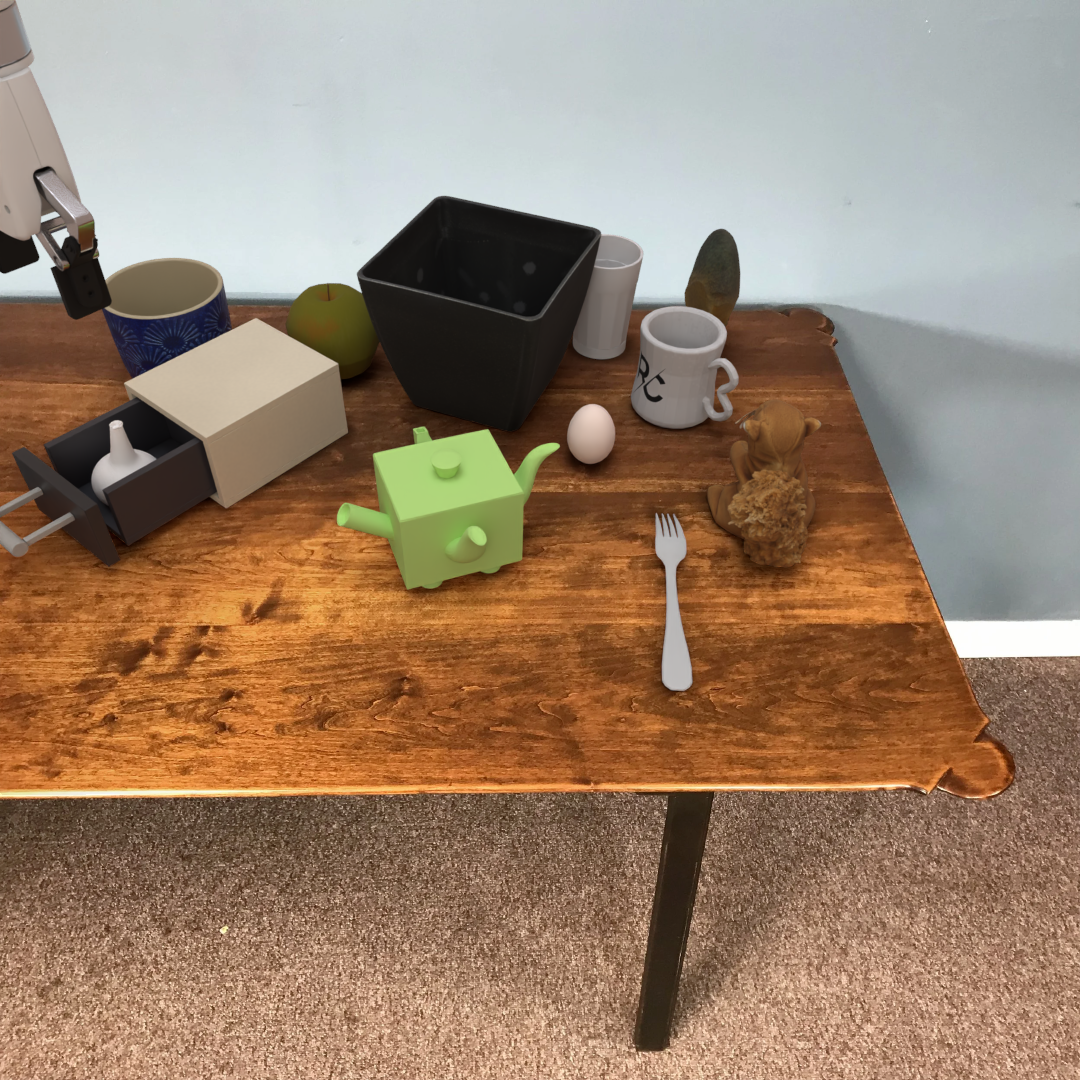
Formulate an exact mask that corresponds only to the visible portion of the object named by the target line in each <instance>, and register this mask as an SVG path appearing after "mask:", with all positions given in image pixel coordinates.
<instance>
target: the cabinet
mask: <svg viewBox="0 0 1080 1080" xmlns="http://www.w3.org/2000/svg"><path fill="white" fill-rule="evenodd" d="M123 385H124V387H125V391H126V394H127V397H128V399H129V401H130V400H132V399H134V398H136V397H138V398H139V399H141V400H142V401H144V402H145V403H147V404H148V405H150V406H151V407H153V408H154V409H156V410H157V411H159V412H160V413H162V414H163V415H165V416H166V417H168V418H169V419H171V420H172V421H173V422H175V423H176V424H178V425H179V426H181V427H182V428H184V429H185V430H187V431H188V432H190V433H191V434H193V435H194V436H196V437H197V438H199V439H200V440H202V441H203V444H204V447H205V450H206V454H207V457H208V461H209V464H210V468H211V471H212V475H213V478H214V482H215V485H216V489H217V492H216V493H215V494H213V495H211V496H210V497H209V498H210V499H212V500H213V501H215V502H216V503H217V504H219V505H220V506H222V507H223V508H225V509H228V508H230V507H231V506H233V505H234V504H236V503H238V502H240V501H241V500H242V499H244V498H246V497H248V496H249V495H250V494H252V493H254V492H255V491H257V490H259V489H260V488H262V487H263V486H265V485H267V484H268V483H270V482H271V481H273V480H274V479H276V478H278V477H279V476H281V475H282V474H284V473H286V472H287V471H289V470H290V469H292V468H294V467H296V466H297V465H299V464H301V463H302V462H304V461H305V460H307V459H308V458H310V457H311V456H313V455H315V454H316V453H318V452H320V451H321V450H323V449H324V448H326V447H328V446H329V445H331V444H333V443H334V442H335V441H337V440H339V439H340V438H342V437H344V436H346V435H347V434H348V433H349V429H348V422H347V416H346V414H347V413H346V407H345V402H344V395H343V394H344V393H343V387H342V379H340V373H339V365H338V363H336V362H334V361H333V360H331V359H329V358H327V357H325V356H324V355H322V354H320V353H318V352H316V351H315V350H313V349H311V348H309V347H307V346H306V345H304V344H302V343H300V342H298V341H297V340H295V339H293V338H291V337H289V336H288V334H286V333H284V332H282V331H280V330H279V329H277V328H275V327H274V326H271V325H269V324H268V323H266V322H264V321H262V320H260V319H259V318H256V317H255V318H253V319H250V320H249V321H247V322H245V323H243V324H240V325H239V326H237V327H234V328H233V329H232V330H231V331H229V332H227V333H225V334H223V335H220V336H218V337H216V338H214V339H212V340H210V341H208V342H206V343H204V344H202V345H200V346H198V347H196V348H194V349H192V350H190V351H188V352H186V353H184V354H182V355H180V356H178V357H176V358H174V359H172V360H170V361H168V362H166V363H164V364H162V365H160V366H157V367H155V368H153V369H151V370H149V371H147V372H145V373H143V374H141V375H139V376H137V377H135V378H131V379H129V380H127V381H125V382H123Z"/></svg>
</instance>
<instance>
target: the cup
mask: <svg viewBox="0 0 1080 1080" xmlns="http://www.w3.org/2000/svg"><path fill="white" fill-rule="evenodd" d="M643 259H644V250H643V248H642V247H641V245H640V244H639V243H637V242H636V241H634V240H633V239H630V238H629V237H625V236H621V235H618V234H617V235H616V234H609V233H608V234H607V233H601V239H600V244H599V248H598V253H597V257H596V260H595V264H594V268H593V272H592V276H591V280H590V283H589V287H588V290H587V293H586V297H585V300H584V303H583V306H582V309H581V312H580V315H579V318H578V321H577V324H576V326H575V329H574V332H573V334H572V347H573V349H574V350H575V351H576V352H577V353H578V354H580V355H582V357H583V356H584V357H586V358H590V359H594V360H595V359H596V360H609V359H613V358H616V357H619V356H621V355H622V354H623V353H624V352H625V350H626V345H627V335H628V331H629V326H630V320H631V315H632V310H633V305H634V300H635V295H636V290H637V286H638V285H637V283H638V281H639V277H640V273H641V268H642V264H643Z"/></svg>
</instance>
